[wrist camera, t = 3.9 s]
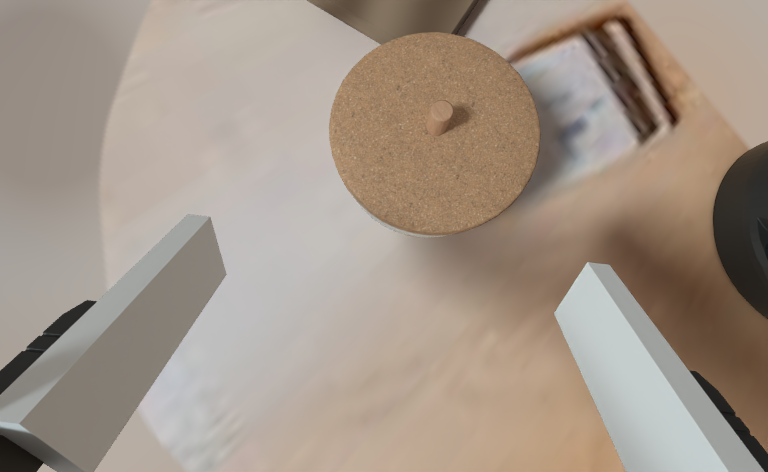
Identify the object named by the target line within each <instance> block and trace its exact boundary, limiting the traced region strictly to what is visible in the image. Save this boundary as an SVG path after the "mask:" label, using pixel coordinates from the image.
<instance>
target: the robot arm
mask: <svg viewBox="0 0 768 472" xmlns="http://www.w3.org/2000/svg"><path fill="white" fill-rule="evenodd" d="M714 233H715V240H716V245H717V248H718V252H719V255H720V258H721V261H722V263H723V265H724V268H725V270H726V272H727V273H728V275H729V277H730V279H731V280H732V282H733V284H734V285H735V286H736V288H737V289H738V291H739V292H740V293H741V294H742V296H743V297H744V298H745V299H746V300H747V301H748V302H749V303H750V304H751V305H752V306H753V307H754V308H755V309H756V310H757V311H758V312H760V313H761V314H762V315H763V316H765V317H766V318H767V319H768V142H765V143H762V144H760V145H758V146H756V147H754V148H753V149H751V150H749V151H748V152H747V153H745V154H744V155H743V156H742V157H740V158H739V159H738V160H737V161H736V162H735V163H734V165H733V166H732V167H731V168H730V170H729V171H728V173H727V174H726V176H725V178H724V179H723V181H722V184H721V186H720V188H719V191H718V194H717V198H716V202H715V208H714ZM225 276H226V271H225V267H224V264H223V260H222V257H221V253H220V250H219V246H218V243H217V239H216V236H215V232H214V228H213V225H212V221H211V218H210V217H208V216H199V215H191V214H188V215H187V216H186V217H185V218H184V219H183V220H181V221H180V222H179V223H178V224H177V225H176V226H175V227H174V228H173V229H172V230H171V231H170V232H169V233H168V234H167V235H166V236H165V237H164V238H163V239H162V240H161V241H160V242H159V243H158V244H157V245H156V246H154V247H153V248H152V249H151V250H150V251H149V252H148V253H147V254H146V255H145V256H144V257H143V258H142V259H141V260H140V261H139V262H138V263H137V264H136V265H135V266H134V267H133V268H132V269H131V270H130V271H128V272H127V273H126V274H125V275H124V276H123V277H122V278H121V279H120V280H119V281H118V282H117V283H116V284H115V285H114V286H113V287H112V288H111V289H110V290H109V291H108V292H107V293H106V294H105V295H104V296H102V298H100V299H99V300H98V301H88V300H87V301H85V302H83V303H82V304H80V305H78V306H76V307H75V308H73V309H71V310H70V311H68V312H66V313H64V314H63V315H62V316H61V317H59V319H57V320H56V321H55V322H54V323H53V324H52V325H51V326H49V328H47V329H46V330H45V331H44V332H43V335H42V336H38V337H37V338H36V339H35V340H34V341H33V342H32V343H31V344H30V345H29V346H27V349H26V351H22V352H21V353H20V354H18V355H17V356H16V357H15V358H14V359H13V360H12V361H11V362H10V363H9V364H7V365H6V366H5V367H4V368H3V369H2V370H1V371H0V472H37V471H38V469H39V468H40V467H41V465H42V464H43V463H44V464H46V465H47V466H49V467H50V468H52V469H54V470H55V471H57V472H94V471H95V469H96V468H97V466H98V465H99V463H100V462H101V460H102V459H103V457H104V456H105V455H106V453H107V452H108V450H109V449H110V447H111V446H112V444H113V442H114V441H115V440H116V438H117V436H118V435H119V434H120V432H121V431H122V429H123V428H124V426H125V425H126V423H127V422H128V420H129V419H130V417H131V416H132V414H133V413H134V411H135V410H136V408H137V407H138V405H139V404H140V402H141V401H142V399H143V398H144V396H145V395H146V393H147V392H148V390H149V389H150V388H151V386H152V385H153V383H154V382H155V380H156V379H157V377H158V376H159V374H160V373H161V371H162V370H163V368H164V367H165V365H166V364H167V362H168V361H169V359H170V358H171V356H172V355H173V353H174V352H175V350H176V349H177V347H178V346H179V344H180V343H181V341H182V340H183V338H184V337H185V335H186V334H187V332H188V331H189V329H190V328H191V326H192V325H193V323H194V322H195V321H196V319H197V318H198V316H199V315H200V313H201V312H202V310H203V309H204V307H205V306H206V304H207V303H208V301H209V300H210V298H211V297H212V295H213V294H214V292H215V291H216V289H217V288H218V286H219V285H220V283H221V282H222V280H223V279H224V277H225ZM554 315H555V317H556V319H557V321H558V324H559V326H560V328H561V330H562V332H563V335H564V337H565V339H566V341H567V343H568V345H569V348H570V350H571V352H572V354H573V356H574V359H575V361H576V363H577V365H578V367H579V370H580V372H581V374H582V376H583V378H584V381H585V383H586V385H587V387H588V389H589V391H590V394H591V396H592V398H593V400H594V402H595V405H596V407H597V409H598V411H599V413H600V416H601V418H602V420H603V422H604V424H605V427H606V429H607V431H608V433H609V435H610V438H611V440H612V442H613V444H614V446H615V448H616V451H617V453H618V455H619V457H620V459H621V462H622V464H623V466H624V468H625V470H626V472H768V454H767V452H766V451H765V450H764V448H763V447H762V446H761V445H760V443H759V442H758V441H757V440H756V438H755V437H754V436H751V435H750V431H749V429H748V428H747V427H746V426H745V424H744V423H743V422H742V421H741V419H740V418H739V417H736V416H735V412H734V410H733V409H732V408H731V407H730V405H729V404H728V403H727V401H726V400H725V399H724V398H723V396H722V395H721V394H720V393H719V391H718V390H717V389H715V388H714V387H713V386H712V385H711V384H710V383H709V382H708V381H706V380H705V379H704V378H703V377H702V376H701V375H700V374H698V373H697V372H696V371H689V370H688V369H687V368H686V366H685V365H684V364H683V362H682V361H681V360H680V358H679V357H678V356H677V354H676V353H675V352H674V350H673V349H672V348H671V346H670V345H669V344H668V342H667V341H666V340H665V338H664V337H663V336H662V334H661V333H660V332H659V330H658V329H657V328H656V326H655V325H654V324H653V322H652V321H651V320H650V318H649V317H648V316H647V314H646V313H645V312H644V310H643V309H642V308H641V306H640V305H639V304H638V302H637V301H636V300H635V298H634V297H633V296H632V294H631V293H630V292H629V290H628V289H627V288H626V286H625V285H624V284H623V282H622V281H621V280H620V278H619V277H618V276H617V274H616V273H615V272H614V270H613V269H612V268H611V266H610V265H608V264H599V263H591V262H587V264H586V265H585V267H584V268H583V270H582V271H581V273H580V274H579V276H578V277H577V279H576V280H575V282H574V283H573V285H572V286H571V288H570V290H569V291H568V293H567V294H566V296H565V297H564V299H563V300H562V302H561V303H560V305H559V306H558V308H557V309H556V311H555V312H554Z"/></svg>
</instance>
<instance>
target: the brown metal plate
mask: <svg viewBox="0 0 768 472" xmlns="http://www.w3.org/2000/svg"><path fill="white" fill-rule="evenodd" d="M307 1H309V2H311V3H312V4H314V5H316V6H317V7H319V8H321V9H322V10H324V11H326V12H327V13H329V14H331V15H333V16H334V17H336V18H338V19H339V20H341V21H343V22H344V23H346V24H348V25H349V26H351V27H353V28H354V29H356V30H358V31H359V32H361V33H363V34H364V35H366V36H368V37H370V38H371V39H373V40H375V41H376V42H378V43H380V44H381V45H383V44H385V43H387V42H389V41H391V40H394V39H397V38H400V37H403V36H406V35H411V34H417V33H429V32H441V33H448V34H454V35H456V33H457V32H458V30H459V29H460V27H461V26H462V24H463V23H464V21H465V20H466V18H467V17H468V15H469V14H470V12H471V11H472V9H473V8H474V6H475V5H476V3H477V2H478V0H307Z"/></svg>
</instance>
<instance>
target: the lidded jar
mask: <svg viewBox="0 0 768 472" xmlns="http://www.w3.org/2000/svg"><path fill="white" fill-rule="evenodd" d="M329 130H330V145H331V150H332V156H333V158H334V161H335V164H336V167H337V170H338V173H339V175H340V177H341V178H342V180H343V182H344V184H345V186H346V188H347V189H348V190H349V192H350V193H351V194H352V196H353V198H354V199H355V200H356V202H357V203H358V204H359V205H360V207H361V208H362V209H363V210H364V211H365V212H366V213H367V214H368V215H369V216H371V217H372V218H373V219H374V220H376V221H377V222H379V223H380V224H382V225H383V226H385V227H387V228H389V229H391V230H393V231H395V232H398V233H402V234H405V235H409V236H416V237H441V236H447V235H452V234H455V233H459V232H464V231H467V230H470V229H472V228H475V227H478V226H480V225H482V224H484V223H486V222H487V221H489V220H491V219H493V218H495V217H497V216H498V215H499V214H500V213H502V212H503V211H504V210H505V209H507V208H508V207H509V206H510V205H511V204H512V203H513V202H514V201H515V200H516V199H517V198H518V196H519V195H520V194H521V193H522V191H523V190H524V188H525V187H526V185H527V183H528V182H529V180H530V178H531V176H532V173H533V171H534V168H535V166H536V162H537V158H538V154H539V148H540V125H539V117H538V114H537V110H536V106H535V102H534V100H533V98H532V96H531V94H530V91H529V89H528V87H527V86H526V84H525V83H524V81H523V79H522V78H521V76H520V75H519V74H518V73H517V71H516V70H515V69H514V68H513V67H512V66H511V65H510V64H509V63H508V62H507V61H506V60H505V59H504V58H502V57H501V56H500V55H499V54H498V53H496V52H495V51H493V50H491V49H490V48H488V47H486V46H485V45H483V44H481V43H478V42H476V41H474V40H472V39H470V38H466V37H462V36H458V35H454V34H448V33H441V32H429V33H417V34H411V35H406V36H403V37H400V38H397V39H394V40H391V41H389V42H387V43H385V44H383V45H381V46H379V47H377V48H376V49H374V50H373V51H371V52H370V53H368V54H367V55H366V56H364V57H363V58H362V59H361V60H360V61H359V62H358V63H357V64H356V65H355V66H354V67H353V68H352V70H351V71H350V72H349V73H348V75H347V76H346V77H345V79H344V80H343V82H342V84H341V86H340V88H339V90H338V92H337V94H336V97H335V100H334V103H333V106H332V110H331V117H330V123H329Z"/></svg>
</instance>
